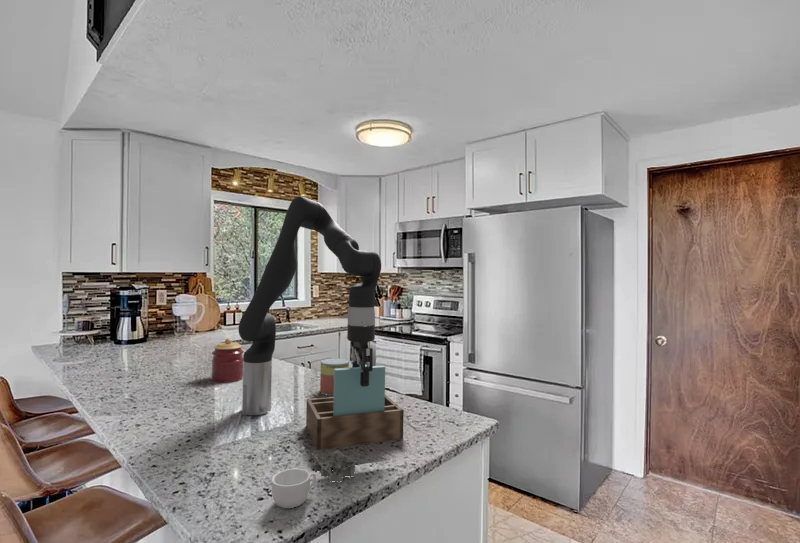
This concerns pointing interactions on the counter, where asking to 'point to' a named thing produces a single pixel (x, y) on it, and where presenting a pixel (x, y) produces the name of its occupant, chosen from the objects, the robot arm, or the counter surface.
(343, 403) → the teal board
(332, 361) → the canned food
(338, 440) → the rack
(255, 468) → the counter surface
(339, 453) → the egg carton
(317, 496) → the counter surface
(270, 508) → the counter surface
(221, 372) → the canister
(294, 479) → the teacup
